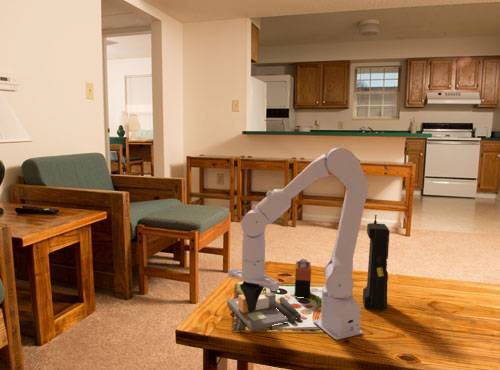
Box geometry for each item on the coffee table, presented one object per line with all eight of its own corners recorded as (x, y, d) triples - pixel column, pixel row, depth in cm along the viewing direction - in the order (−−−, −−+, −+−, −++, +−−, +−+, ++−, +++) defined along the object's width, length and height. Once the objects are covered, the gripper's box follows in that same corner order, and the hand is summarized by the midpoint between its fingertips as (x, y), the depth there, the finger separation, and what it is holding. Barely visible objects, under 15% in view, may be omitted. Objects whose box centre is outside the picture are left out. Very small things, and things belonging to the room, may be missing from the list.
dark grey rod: (297, 323, 99) (297, 317, 98) (292, 324, 98) (292, 318, 98) (268, 298, 113) (268, 293, 112) (263, 299, 112) (263, 294, 112)
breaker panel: (291, 322, 99) (291, 317, 99) (251, 330, 94) (251, 325, 94) (262, 298, 113) (262, 293, 113) (227, 304, 109) (227, 298, 108)
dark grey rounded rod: (301, 320, 100) (302, 314, 100) (296, 321, 100) (296, 315, 100) (283, 301, 111) (283, 296, 111) (278, 302, 111) (278, 296, 110)
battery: (309, 290, 119) (310, 258, 118) (309, 299, 113) (311, 266, 111) (294, 289, 120) (296, 257, 119) (294, 298, 113) (295, 265, 112)
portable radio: (388, 312, 106) (394, 221, 102) (364, 310, 107) (370, 220, 104) (384, 300, 113) (390, 215, 110) (362, 298, 114) (368, 214, 111)
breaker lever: (277, 306, 104) (277, 293, 104) (242, 313, 100) (242, 299, 100) (272, 302, 107) (272, 289, 106) (238, 308, 103) (238, 295, 102)
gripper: (286, 261, 96) (284, 313, 98) (240, 249, 105) (239, 297, 107) (270, 268, 91) (268, 323, 93) (223, 255, 100) (222, 306, 101)
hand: (251, 310), depth 99 cm, fingers closed, pressing on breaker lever
